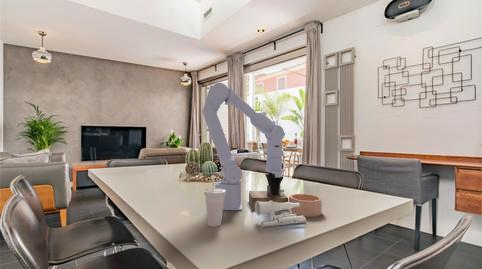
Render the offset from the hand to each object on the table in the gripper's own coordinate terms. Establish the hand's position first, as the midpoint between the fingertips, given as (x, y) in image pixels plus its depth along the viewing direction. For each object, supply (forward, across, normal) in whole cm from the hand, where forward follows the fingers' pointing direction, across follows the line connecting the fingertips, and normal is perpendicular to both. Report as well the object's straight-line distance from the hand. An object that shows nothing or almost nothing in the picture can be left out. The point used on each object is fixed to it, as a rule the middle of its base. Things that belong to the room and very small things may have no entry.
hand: (273, 194), depth 90 cm
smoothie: (+5, -19, +21) cm, 29 cm away
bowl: (+4, -8, -10) cm, 13 cm away
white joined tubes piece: (+5, -18, +1) cm, 19 cm away
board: (+4, +2, +2) cm, 5 cm away
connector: (0, 0, 0) cm, 0 cm away
